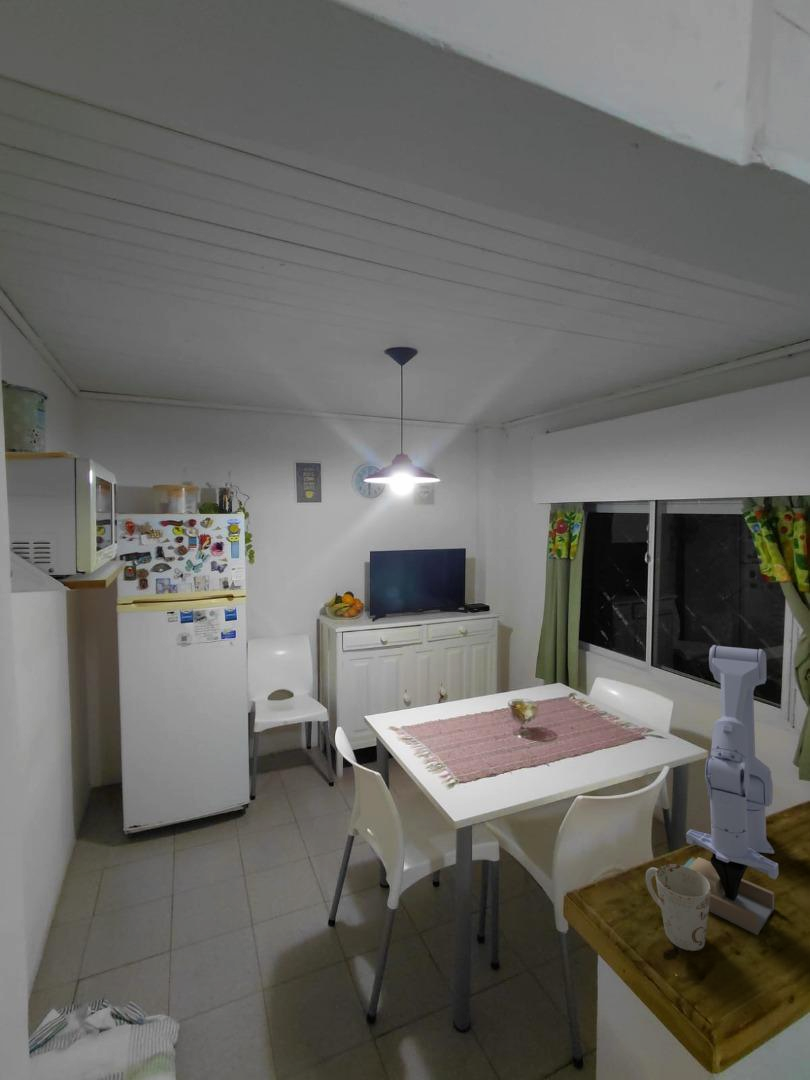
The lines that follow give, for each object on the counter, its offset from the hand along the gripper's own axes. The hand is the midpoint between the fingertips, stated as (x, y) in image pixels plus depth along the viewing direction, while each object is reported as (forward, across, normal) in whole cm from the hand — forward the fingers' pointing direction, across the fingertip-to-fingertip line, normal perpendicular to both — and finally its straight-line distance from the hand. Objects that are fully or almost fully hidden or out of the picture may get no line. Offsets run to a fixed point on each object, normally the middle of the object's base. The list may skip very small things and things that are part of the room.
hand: (731, 896), depth 95 cm
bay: (+2, -2, 0) cm, 2 cm away
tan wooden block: (+1, -4, 0) cm, 4 cm away
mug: (+2, -5, -13) cm, 14 cm away
